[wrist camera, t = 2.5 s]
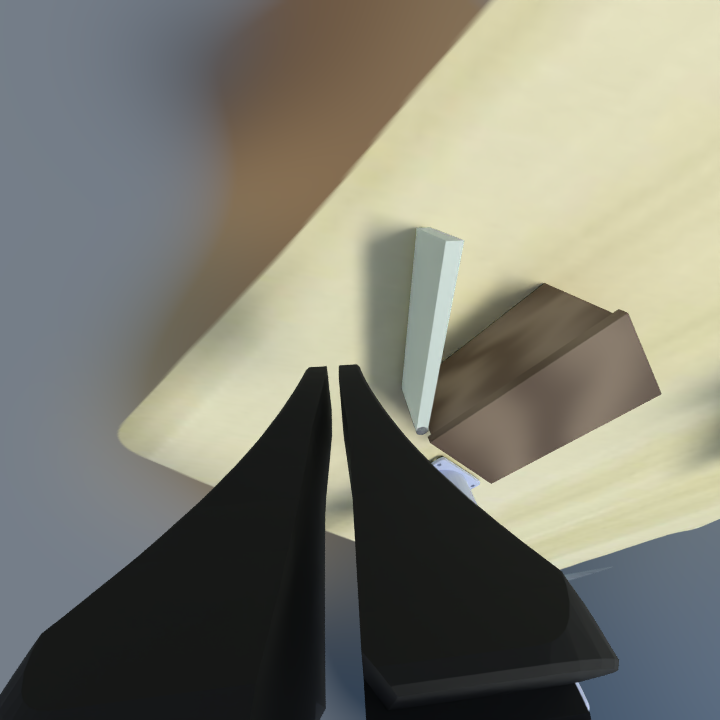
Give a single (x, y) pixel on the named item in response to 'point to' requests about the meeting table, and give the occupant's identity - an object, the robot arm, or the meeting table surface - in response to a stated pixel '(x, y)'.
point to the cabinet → (537, 382)
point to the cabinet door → (428, 319)
